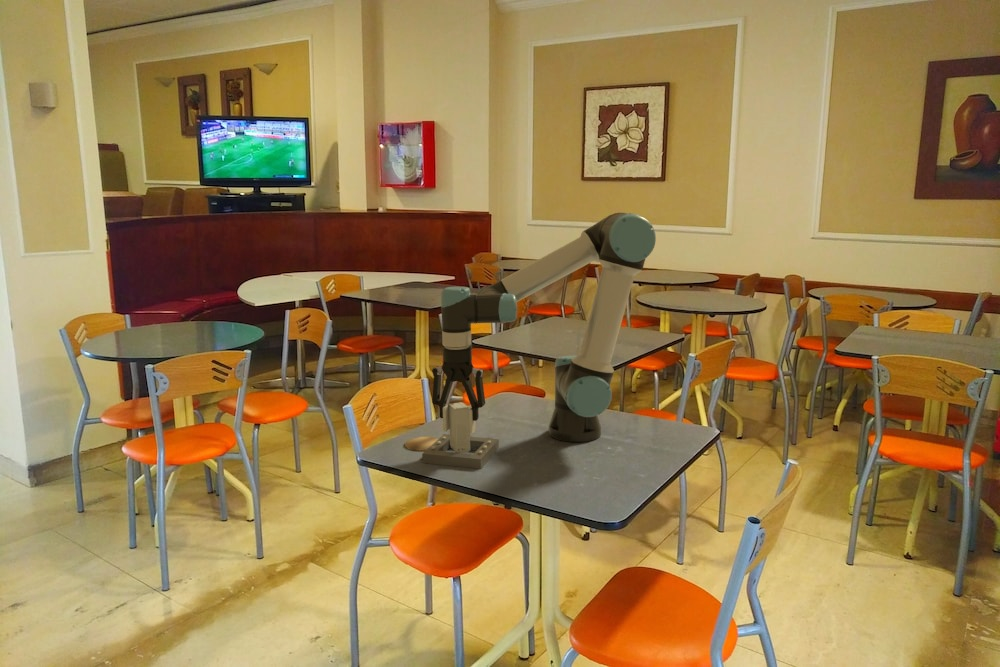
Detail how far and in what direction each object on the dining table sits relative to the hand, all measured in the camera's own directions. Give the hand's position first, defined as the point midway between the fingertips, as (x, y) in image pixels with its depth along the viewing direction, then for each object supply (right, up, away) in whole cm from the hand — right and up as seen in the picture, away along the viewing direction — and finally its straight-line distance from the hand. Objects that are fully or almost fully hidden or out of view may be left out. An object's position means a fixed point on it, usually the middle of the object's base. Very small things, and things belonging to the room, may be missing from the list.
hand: (459, 430), depth 198 cm
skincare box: (0, -5, +1) cm, 5 cm away
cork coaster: (-11, -5, +9) cm, 15 cm away
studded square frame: (+1, -7, +1) cm, 7 cm away
